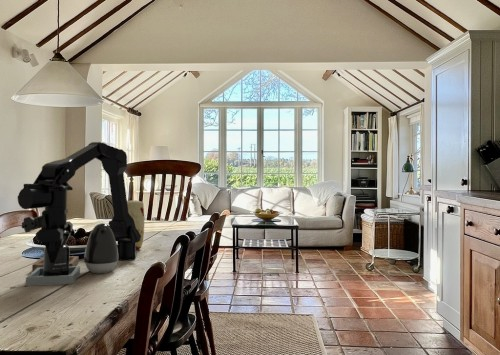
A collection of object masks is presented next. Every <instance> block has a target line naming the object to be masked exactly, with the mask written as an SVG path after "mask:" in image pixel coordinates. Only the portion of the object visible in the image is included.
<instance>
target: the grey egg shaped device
mask: <svg viewBox="0 0 500 355" xmlns="http://www.w3.org/2000/svg"><path fill="white" fill-rule="evenodd" d="M83 261H84V264H85V266H86V269H87V270H88V271H89V272H91V273H93V274H100V275H101V274H107V273H110V272H111V271H113V270H114V269H115V268H116V267H117V264H118V262H119V261H120V260H119V255H118V248H117V241H116V239H115V236H114V233H113V231H112V229H111V228H110V226H109V224H107V223H104V222H101V223H99V224H96V225H95V226H94V227H93V228H92V230H91V232H90V234H89V236H88V240H87V243H86V247H85V250H84V258H83Z"/></svg>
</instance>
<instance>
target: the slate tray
mask: <svg viewBox="0 0 500 355" xmlns="http://www.w3.org/2000/svg"><path fill="white" fill-rule="evenodd" d="M80 274H81V265H77V266H72V267H69V275H61V276H43V267H41V268H37V269H36V270H34V271H33V272H32V271H31V272H30V274H28V275H27V276H26V277H25V286H27V287H28V286H31V287H32V286H51V285H73V284H74V283H75V282H76V280H77V279H78V277H79V276H80Z"/></svg>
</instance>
